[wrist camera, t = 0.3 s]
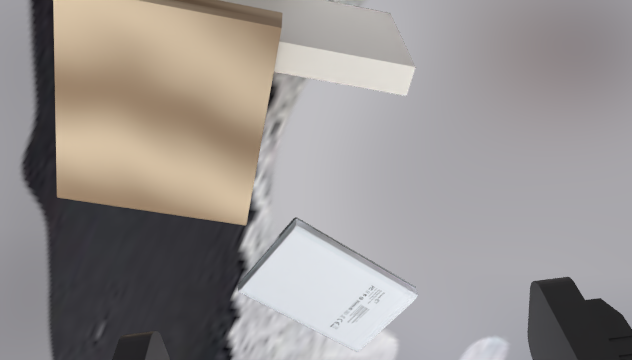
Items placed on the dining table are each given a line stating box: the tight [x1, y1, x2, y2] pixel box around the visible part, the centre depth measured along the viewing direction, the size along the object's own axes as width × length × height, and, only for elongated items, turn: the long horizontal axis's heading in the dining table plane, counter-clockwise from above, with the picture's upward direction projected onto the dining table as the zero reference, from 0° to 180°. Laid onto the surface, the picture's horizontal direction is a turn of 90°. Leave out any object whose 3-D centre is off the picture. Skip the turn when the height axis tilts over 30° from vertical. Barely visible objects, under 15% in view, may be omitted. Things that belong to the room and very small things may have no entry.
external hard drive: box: [238, 217, 418, 352], centre depth 50 cm, size 2×8×12 cm
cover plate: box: [220, 0, 416, 96], centre depth 34 cm, size 2×11×9 cm, turn 78°
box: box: [53, 0, 283, 225], centre depth 34 cm, size 11×10×11 cm
